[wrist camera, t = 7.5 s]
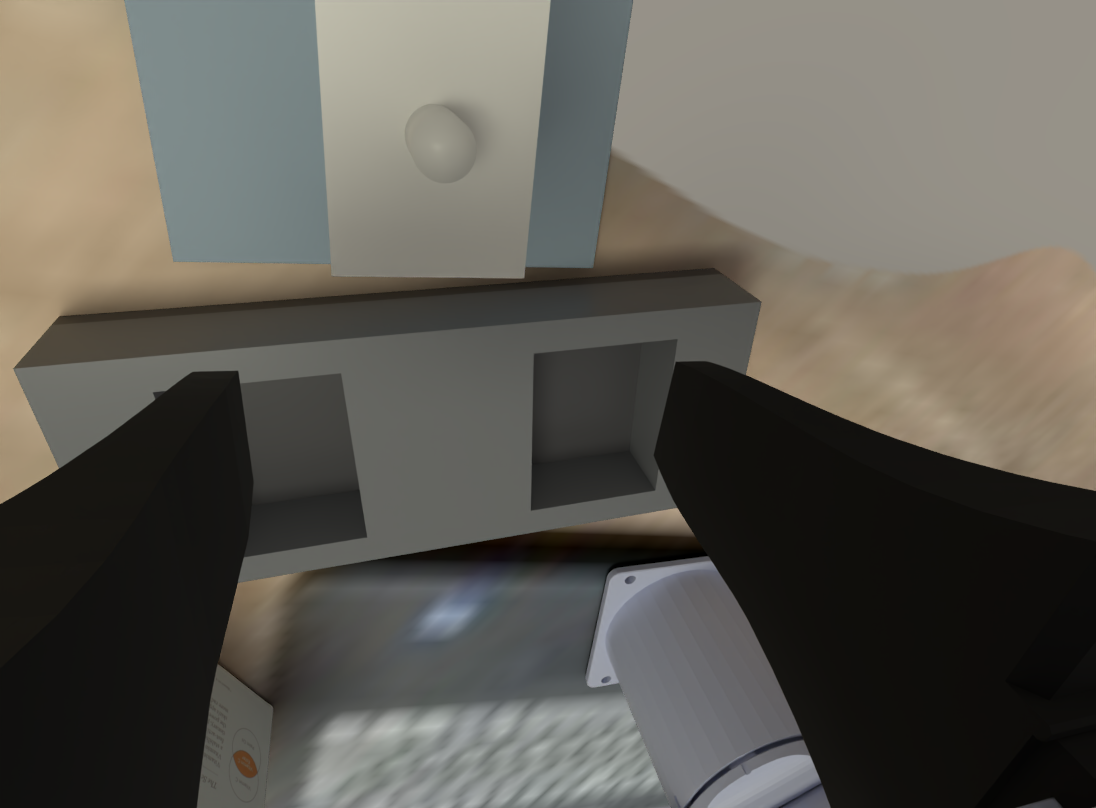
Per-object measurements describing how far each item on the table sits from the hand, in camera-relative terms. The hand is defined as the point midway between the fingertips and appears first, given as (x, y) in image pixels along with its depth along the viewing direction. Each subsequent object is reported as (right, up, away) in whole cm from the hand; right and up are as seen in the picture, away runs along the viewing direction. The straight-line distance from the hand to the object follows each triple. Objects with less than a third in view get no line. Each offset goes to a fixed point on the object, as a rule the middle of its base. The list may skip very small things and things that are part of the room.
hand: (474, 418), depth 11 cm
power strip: (-3, +1, +12) cm, 12 cm away
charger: (-3, +8, +6) cm, 11 cm away
